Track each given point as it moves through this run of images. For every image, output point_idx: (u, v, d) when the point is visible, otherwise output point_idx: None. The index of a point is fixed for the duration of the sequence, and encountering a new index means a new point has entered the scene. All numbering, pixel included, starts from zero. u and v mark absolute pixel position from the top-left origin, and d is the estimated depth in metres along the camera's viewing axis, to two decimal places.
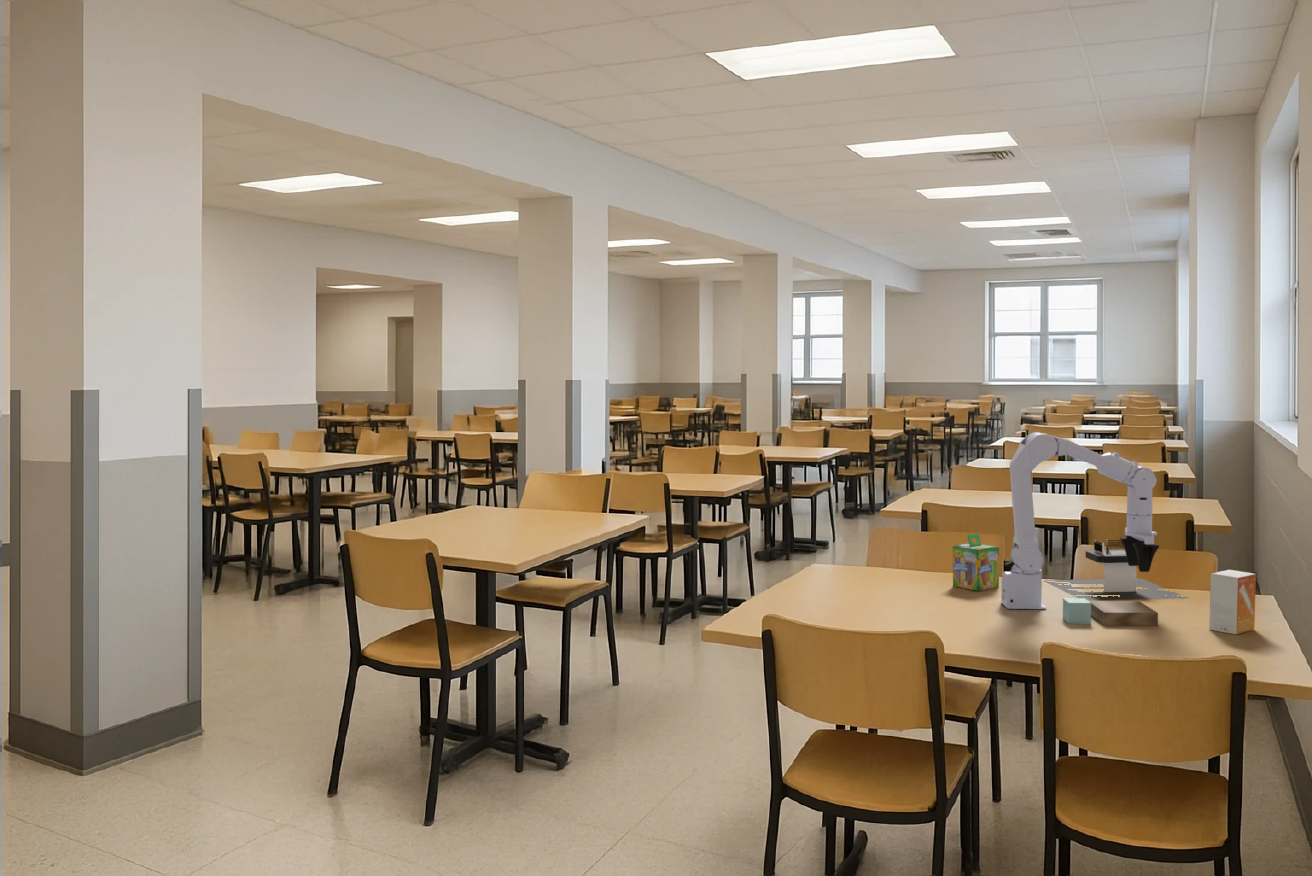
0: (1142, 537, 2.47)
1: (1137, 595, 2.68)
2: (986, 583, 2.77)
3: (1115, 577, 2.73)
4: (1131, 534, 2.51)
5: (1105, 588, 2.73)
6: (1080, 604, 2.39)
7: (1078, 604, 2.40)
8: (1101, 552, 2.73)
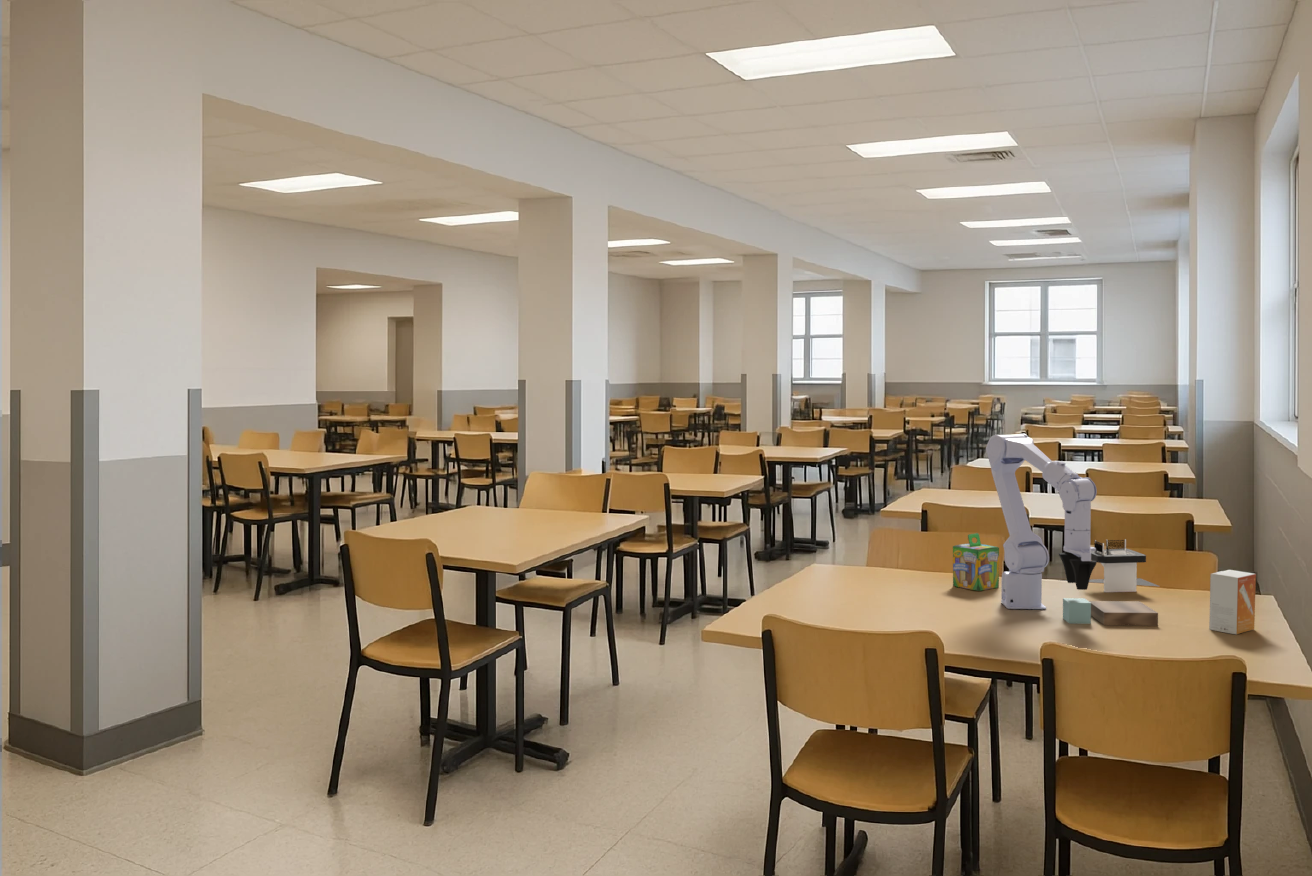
0: (1079, 553, 2.36)
1: None
2: (986, 583, 2.77)
3: (1115, 577, 2.73)
4: (1068, 550, 2.40)
5: (1105, 588, 2.73)
6: (1080, 604, 2.39)
7: (1078, 604, 2.40)
8: (1101, 552, 2.73)
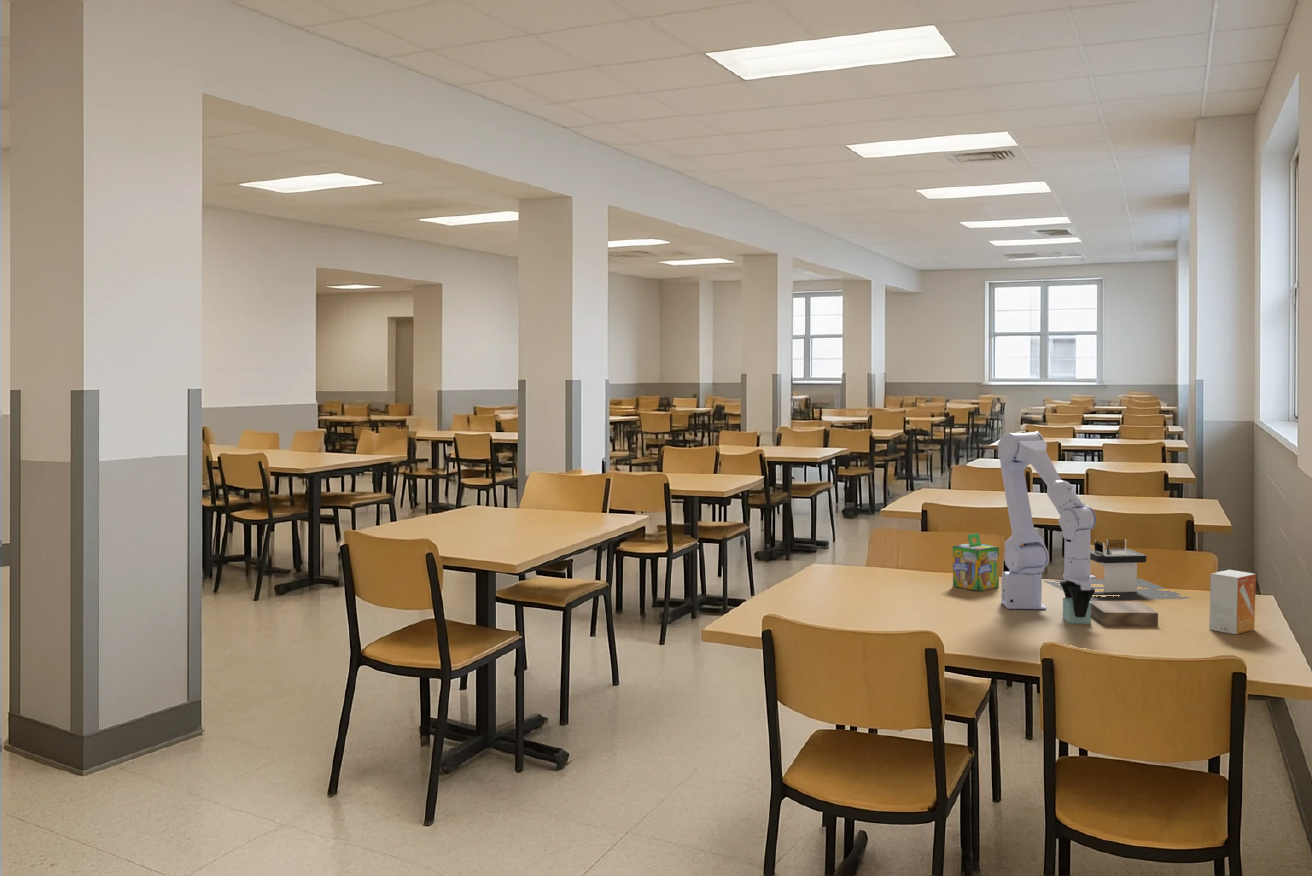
0: (1078, 582, 2.36)
1: (1138, 595, 2.68)
2: (986, 583, 2.77)
3: (1116, 577, 2.72)
4: (1068, 578, 2.40)
5: (1106, 588, 2.72)
6: None
7: None
8: (1102, 552, 2.73)
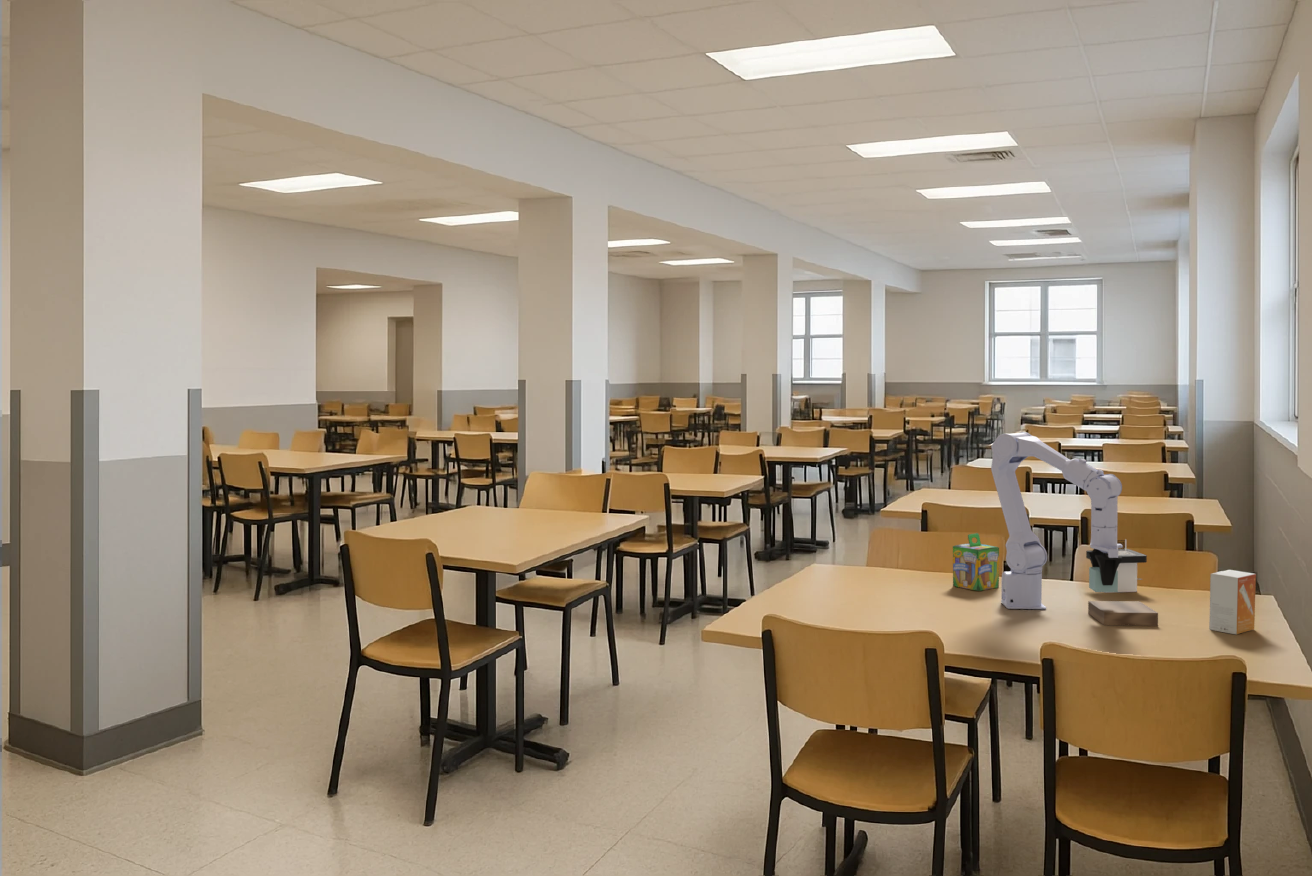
0: (1106, 550, 2.36)
1: None
2: (986, 583, 2.77)
3: None
4: (1095, 547, 2.40)
5: None
6: None
7: None
8: None
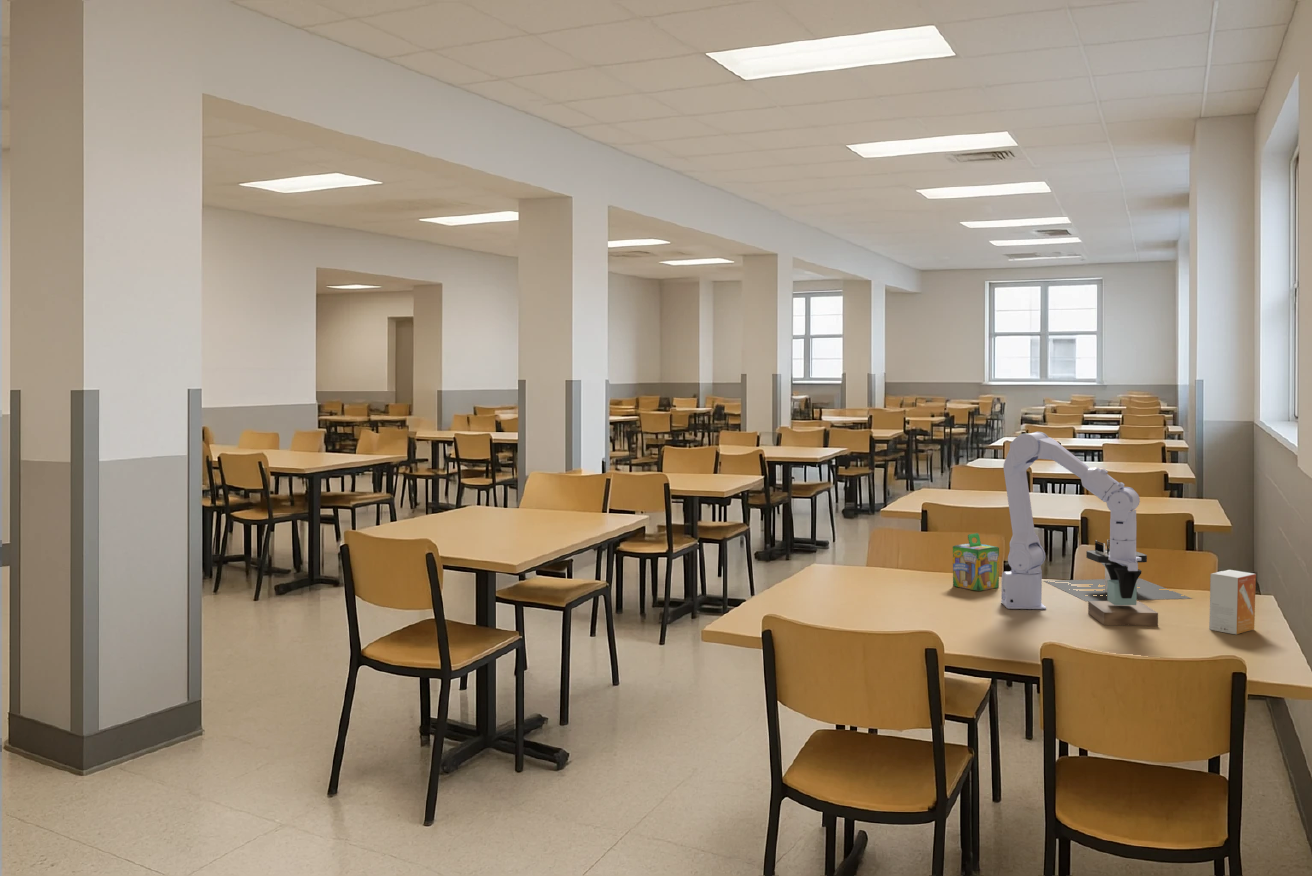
0: (1125, 563, 2.37)
1: (1138, 595, 2.68)
2: (986, 583, 2.77)
3: None
4: (1114, 560, 2.40)
5: (1106, 588, 2.72)
6: None
7: None
8: (1102, 552, 2.73)
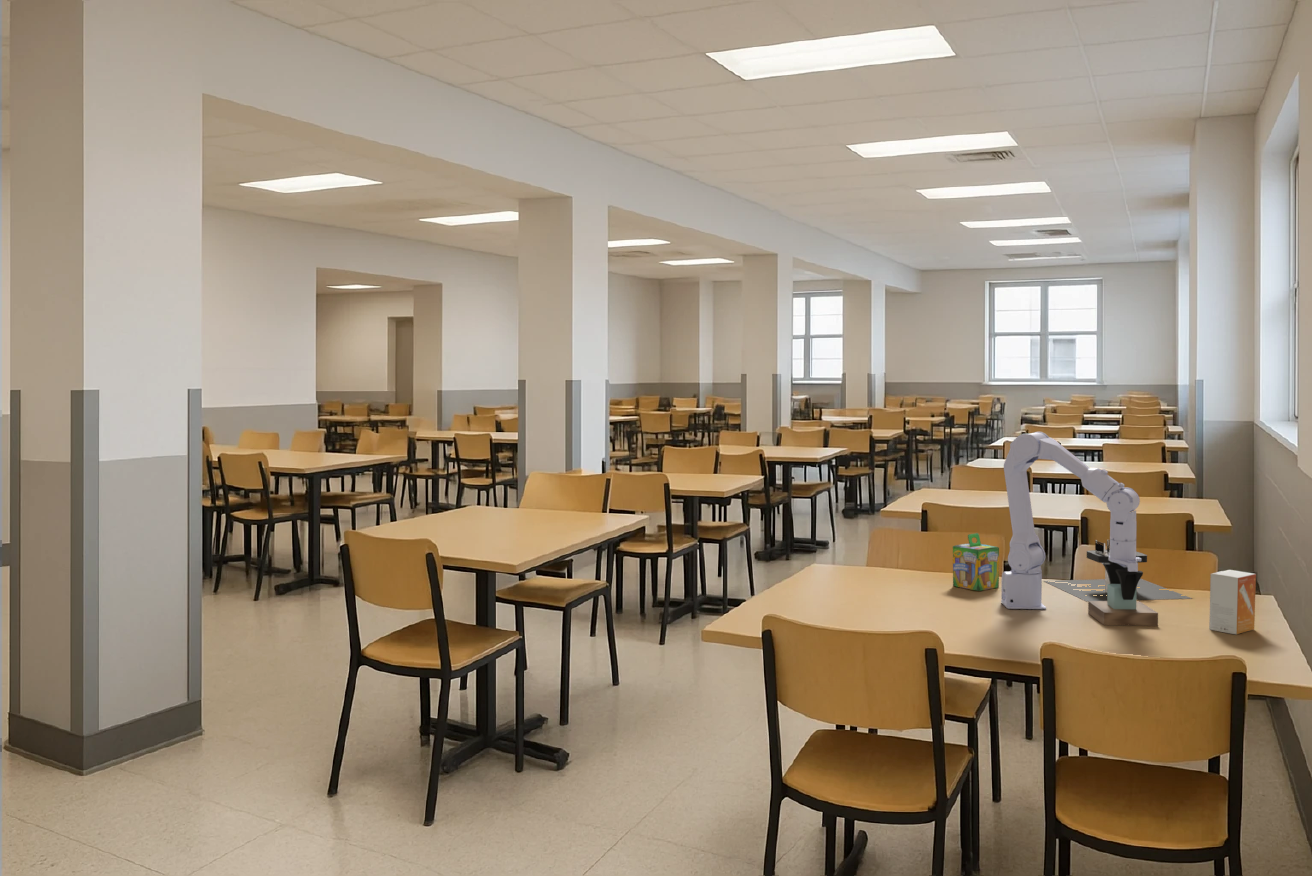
0: (1125, 564, 2.37)
1: (1139, 595, 2.67)
2: (986, 583, 2.77)
3: None
4: (1114, 560, 2.40)
5: (1107, 588, 2.72)
6: None
7: None
8: (1102, 552, 2.73)
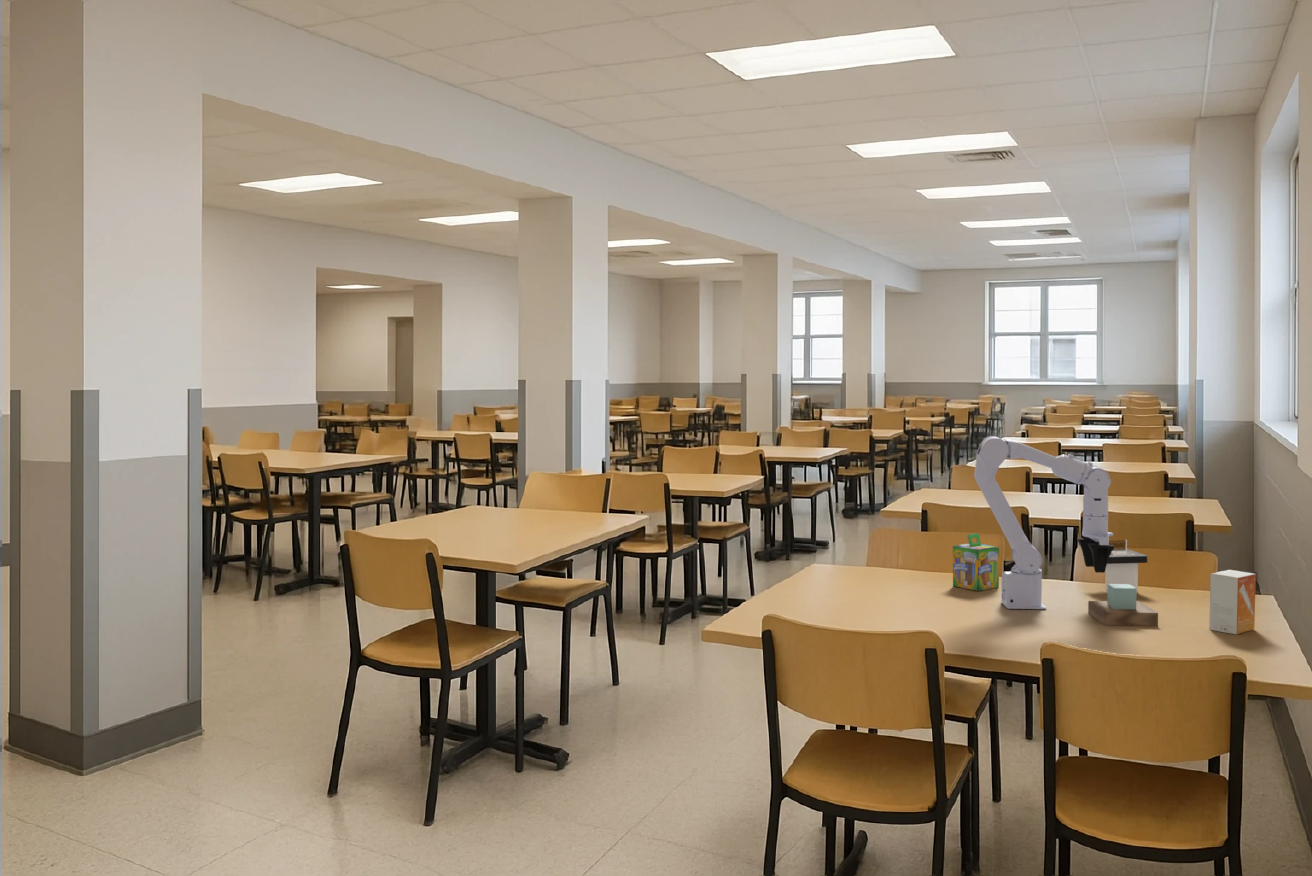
0: (1097, 538, 2.48)
1: None
2: (986, 583, 2.77)
3: (1117, 578, 2.72)
4: (1087, 535, 2.51)
5: (1107, 589, 2.72)
6: (1125, 589, 2.40)
7: (1123, 589, 2.40)
8: None
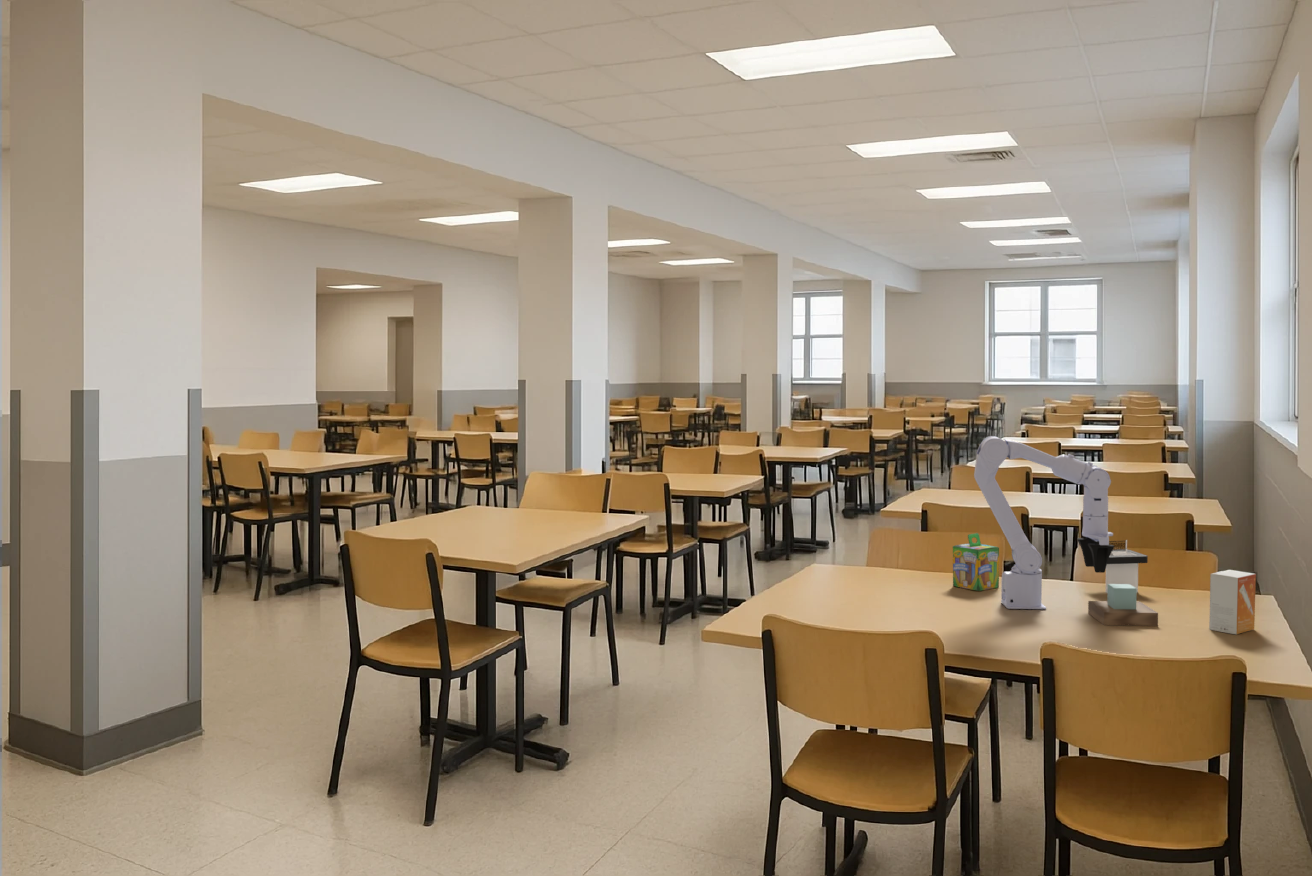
0: (1097, 538, 2.48)
1: None
2: (986, 583, 2.77)
3: (1117, 578, 2.72)
4: (1087, 535, 2.51)
5: (1107, 589, 2.72)
6: (1125, 589, 2.40)
7: (1123, 589, 2.40)
8: None
